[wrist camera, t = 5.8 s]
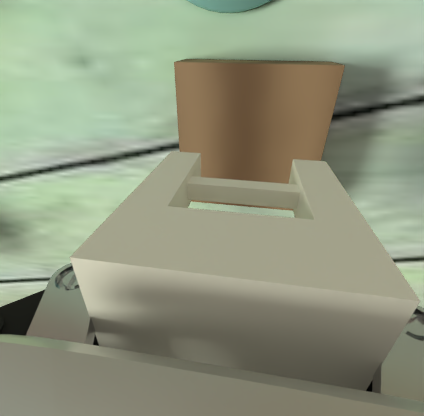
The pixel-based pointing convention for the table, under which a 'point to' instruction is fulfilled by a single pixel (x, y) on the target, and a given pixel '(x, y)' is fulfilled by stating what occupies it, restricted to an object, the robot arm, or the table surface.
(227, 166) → the brown panel
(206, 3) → the pad
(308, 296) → the cream notched block
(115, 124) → the table surface
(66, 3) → the table surface
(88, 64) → the table surface
